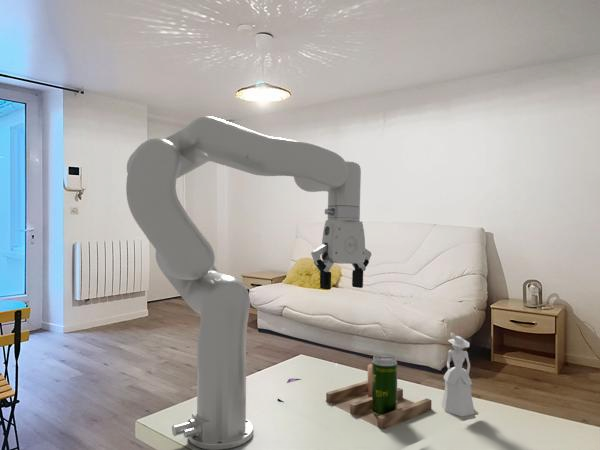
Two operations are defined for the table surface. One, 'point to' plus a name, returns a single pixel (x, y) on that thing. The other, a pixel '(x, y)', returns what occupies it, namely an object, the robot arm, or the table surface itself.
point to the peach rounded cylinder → (370, 380)
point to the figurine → (458, 381)
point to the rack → (361, 405)
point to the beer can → (384, 384)
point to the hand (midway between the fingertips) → (341, 288)
